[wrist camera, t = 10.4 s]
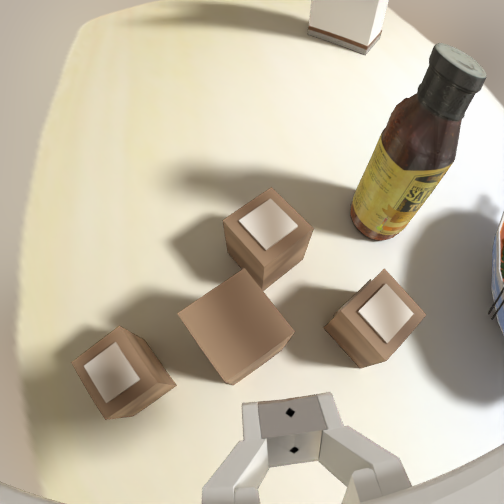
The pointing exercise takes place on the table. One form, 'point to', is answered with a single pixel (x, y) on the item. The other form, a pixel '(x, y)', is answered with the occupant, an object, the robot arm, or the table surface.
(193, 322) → the plain block
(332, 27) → the spiral tower model
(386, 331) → the white paneled block
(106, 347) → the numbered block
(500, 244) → the ramen bowl
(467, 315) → the table surface
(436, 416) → the table surface
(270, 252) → the white-paneled wooden block
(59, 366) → the table surface
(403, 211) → the sauce bottle
